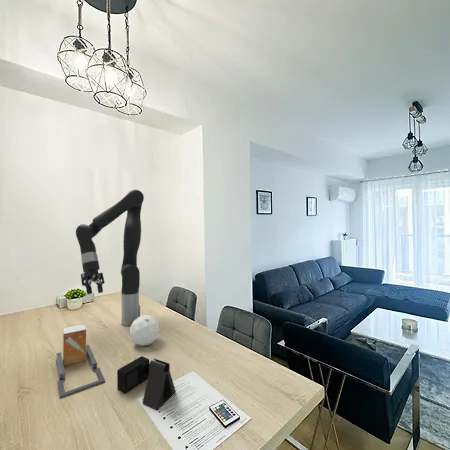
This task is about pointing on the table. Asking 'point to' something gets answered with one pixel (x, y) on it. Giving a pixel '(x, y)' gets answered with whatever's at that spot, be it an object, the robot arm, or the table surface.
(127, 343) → the table surface
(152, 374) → the phone stand
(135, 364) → the digital camera
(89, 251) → the robot arm
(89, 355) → the grey u-shaped frame
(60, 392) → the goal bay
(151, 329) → the geodesic sphere
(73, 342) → the small box
